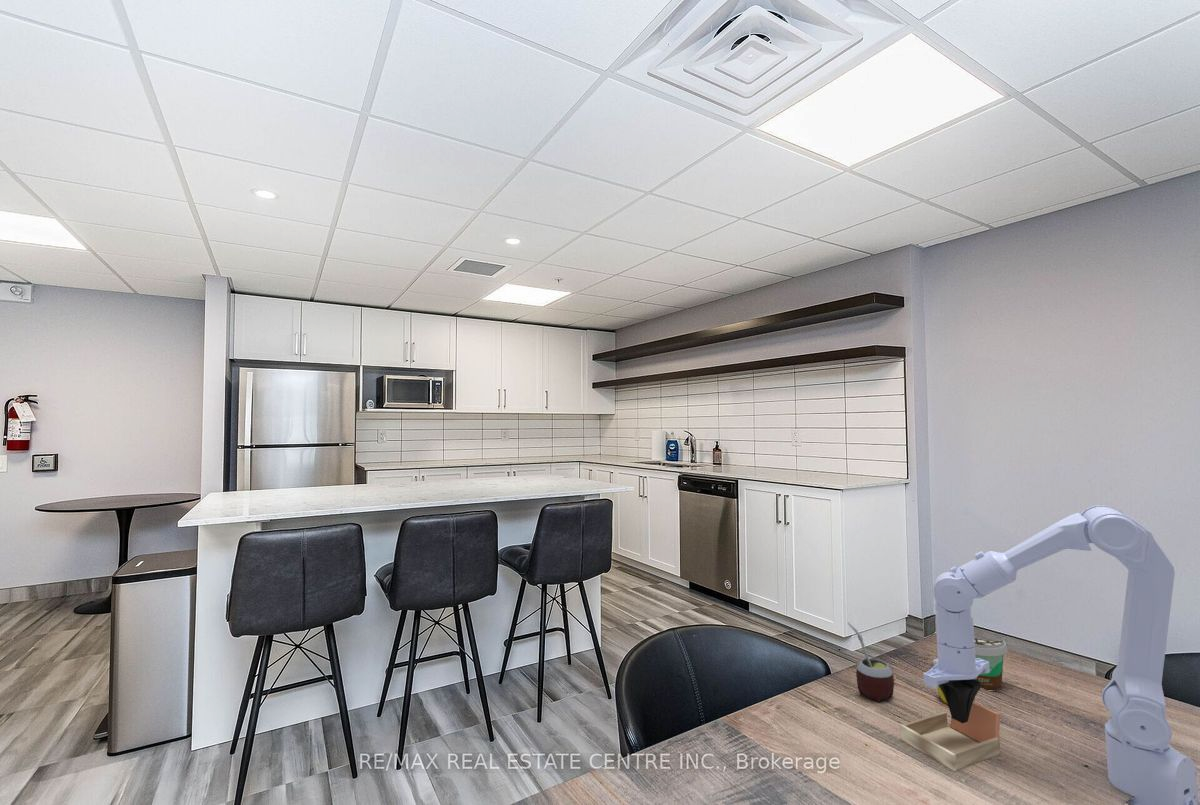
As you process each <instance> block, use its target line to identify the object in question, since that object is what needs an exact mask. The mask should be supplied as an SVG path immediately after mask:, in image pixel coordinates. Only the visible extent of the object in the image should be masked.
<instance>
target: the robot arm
mask: <svg viewBox="0 0 1200 805" xmlns="http://www.w3.org/2000/svg"><path fill="white" fill-rule="evenodd" d="M1090 544H1093V545H1094V546H1095V547H1096V548H1098V549H1099V550H1101V551H1103V552H1104V553H1107V554H1108V555H1110V556H1112V557H1114V558H1116V559H1117V560H1118V562H1120V563H1121V564H1122V565H1123V566H1124V567H1125V568H1126V569H1127V570H1128V573H1127V580H1126V581H1127V582H1126V589H1125V597H1124V605H1123V606H1124V608H1123V613H1122V624H1121V631H1120V632H1121V633H1120V641H1119V650H1118V658H1117V665H1116V667H1115V668H1114V669H1113V671H1112V674H1111V680H1110V681H1109V683H1108V684H1107V685H1106V686H1105V687H1104V688H1103V690H1102V691H1101V701H1102V702H1103V703H1102V704H1103V705H1104V708H1105V709H1106V710H1107V711H1108V713H1109V715H1110V717H1109V718H1108V720H1107V722H1105V724H1104V733H1105V735H1104V736H1105V750H1106V751H1105V752H1106V764H1107V766H1106V768H1107V778H1108V780H1109V782H1110V783H1111V784H1112V785H1113V786H1114V787H1115V788H1117V789H1119V791H1122V792H1123V793H1126V794H1128V795H1130V796H1133V797H1132V798H1130V799H1128V800H1125V803H1127V804H1128V805H1199V790H1198V778H1197V769H1196V764H1195V763H1194V761H1193V760H1192V759H1191V758H1190V757H1188V756H1186V755H1185V754H1183V753H1181V752H1179V751H1178V750H1176V749H1175V748H1174V747H1172V746H1171V745H1170V742H1171V740H1172V736H1173V732H1172V731H1173V730H1172V728H1171V725H1170V722H1169V721H1168V719H1167V716H1166V708H1167V705H1166V699H1165V696H1164V695H1165V694H1164V691H1163V690H1164V689H1163V685H1162V683H1163V682H1162V681H1163V673H1164V666H1165V664H1164V663H1165V657H1166V649H1167V648H1166V647H1167V640H1168V639H1167V638H1168V632H1169V623H1170V614H1171V608H1172V607H1171V606H1172V598H1173V590H1174V584H1175V583H1174V582H1175V574H1176V572H1175V567H1174V565H1173V564H1172V562H1171V560H1170V559H1169V558H1168V557H1167V555H1166V554H1165V552H1164V550H1163V549H1162V547H1160V545H1159V543H1158V542H1157V541H1156V539H1155V538H1154V535H1153V534H1152V531H1150V530H1149V529H1147V528H1146V527H1145V526H1143V525H1142V524H1140V523H1139V522H1138V521H1136V520H1135V519H1134V518H1132V517H1130V516H1129V515H1127V514H1125V513H1123V512H1122V511H1121V510H1119V509H1118V508H1115V507H1113V506H1109V505H1106V504H1105V505H1104V504H1102V505H1101V504H1097V505H1092V506H1089V507H1088V508H1085V509H1084V510H1083V511H1081V513H1080V512H1076V513H1073V514H1069V515H1068V516H1066V517H1064V518H1062V519H1061V520H1059V521H1056V522H1055V523H1053V524H1051V525H1049V526H1048V527H1046V528H1044V529H1043V530H1041V531H1039V532H1037V533H1036V534H1034V535H1032V536H1030V537H1028V538H1027V539H1025V540H1023V541H1022V542H1019V543H1018V544H1017V545H1015V546H1013V547H1011V548H1010V549H1008V550H1007V551H1004V552H999V551H993V550H989V551H987V552H985V553H984V552H983V551H982V550H981V551H978V552H977V553H975V555H974V557H975V558H973V559H971V560H970V561H968V562H965V563H964V564H962V565H960V566H958V567H957V566H956V565H954V566H953V567H950V572H949V571H947V572H946V571H945V572H942V573H940V574H939V575H938V576H937V577H936V579H935V581H934V584H933V596H934V599H935V602H936V603H935V610H936V613H935V616H934V617H935V629H936V630H935V631H936V633H935V634H936V647H937V648H936V650H937V658H934V659H933V666H932V667H931V668H930V669H929V670H928V671H926V672H925V671H924V672H923V684H924V685H926V686H927V687H929V688H932V689H933V690H934V689H938V686H939V687H940V689H941V690H942V692H943V694H944V696H945V699H946V701H947V707H948V709H949V713H950V717H951V716H952V718H953V719H955V720H957V721H959V722H961V723H965V722H968V719H969V715H970V710H971V707H972V703H973V702H974V701H975V698H976V696H977V694H978V693H979V690H981V689H982V688H981V683H980V682H979V681H977V680H975V678H976V677H977V676H978V675H979V674H980V673H981V672H983V673H990V667H989V662H988V661H985V660H983V659H980V658H976V659H975V644H974V638H975V630H974V629H975V626H974V619H973V617H972V614H971V613H972V612H971V610H972V609H971V608H972V606H973V603H974V599H981V598H984V597H986V596H988V595H990V594H992V593H994V592H996V591H998V590H1000V589H1002V588H1003V587H1006V586H1008V585H1009V584H1012V583H1014V582H1016V581H1017V573H1018V571H1019V570H1021V569H1024V568H1026V567H1028V566H1030V565H1033V564H1034V563H1037V562H1039V561H1042V560H1044V559H1046V558H1048V557H1051V556H1053V555H1055V554H1057V553H1059V552H1062V551H1064V550H1077V551H1085V552H1086V551H1087V552H1091V551H1092V549H1091V546H1090Z"/></svg>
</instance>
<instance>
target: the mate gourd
mask: <svg viewBox="0 0 1200 805" xmlns="http://www.w3.org/2000/svg"><path fill="white" fill-rule="evenodd" d="M847 625H848V626H849V627H850V629H852V630H853V631H854V632H855V634H856V635H857V638H858V640H859V642H860V644H861V648H862V649H863V650H862V651H863V653H864V655H865V656H864V657H865V658H864V659H861V660H860V662H859V663H858V665H857V666H856V674H855V677H856V686H857V690H858V692H859V695H860V696H862V695H864V696H865V697H867V698H869V699H871V700H874V701H876V702H877V703H881V701H885V700H887V699H888V698H892V697H893V695H894V689H895V678H894V675H893V674H894V673H893V671H892V669H891V668H890V667H891V666H889V665H888V663H886V662H885V661H883V660H879V659H877V658H876V659H875V658H870V657H869V655H868V652H867V649H866V647H865V644H864V641H863V640H864V638H863V636H862V635H861V634H860V632H859V631H858V629H856V627H855V626H853V625H852V624H851V623H850V622H847Z"/></svg>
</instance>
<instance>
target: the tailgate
mask: <svg viewBox="0 0 1200 805" xmlns="http://www.w3.org/2000/svg"><path fill="white" fill-rule="evenodd" d="M1000 723H1001V713H1000V712H997V711H995V710H993V709H992V708H988V707H987V706H984V705H982V704H980V703H978V702H975V701H973V703H972V707H971V710H970V715H969V719H968V722H965V723H961V722H959V721H957V720H955V719H953V718H952V716H951V715H950V728H952V729H954V730H955V731H957V732H959V733H961V734H963V735H965V736H967V737H969V738H971V739H973V740H975V741H977V742H978V743H980V742H983V741H986V740H989V739H991V738H994V737H996V738H998V739H999V740H1000V728H1001V727H1000V725H1001V724H1000Z"/></svg>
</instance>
